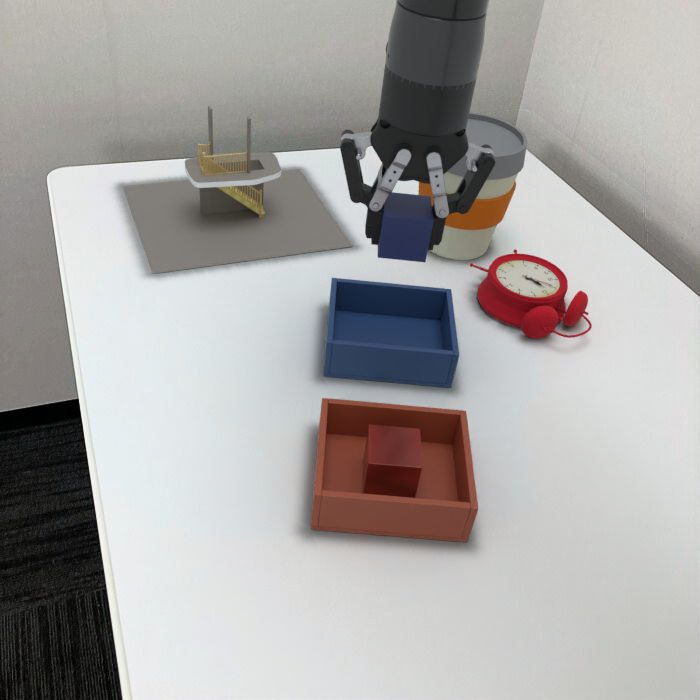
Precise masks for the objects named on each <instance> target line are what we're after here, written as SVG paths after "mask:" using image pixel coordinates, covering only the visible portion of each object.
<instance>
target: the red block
mask: <svg viewBox="0 0 700 700" xmlns="http://www.w3.org/2000/svg"><path fill="white" fill-rule="evenodd" d="M421 471H422V455H421V438H420V429H416V428H405V427H393V426H382V425H371V424H369V426H368V432H367V439H366V445H365V451H364V457H363V494H374V495H386V496H398V497H410V498H415V496H416V492H417V488H418V484H419V479H420V475H421Z"/></svg>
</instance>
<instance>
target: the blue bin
mask: <svg viewBox="0 0 700 700" xmlns="http://www.w3.org/2000/svg"><path fill="white" fill-rule="evenodd" d="M329 291H330V292H329V302H328V311H327V325H326V335H325V336H326V337H325V338H326V339H325V347H324V349H325V350H324V361H323V373H322V376H323V377H326V378H327V377H329V378H338V379H339V378H340V379H349V380H361V381H370V382H371V381H372V382H383V383H394V384H403V385H404V384H405V385H406V384H407V385H415V386H427V387H438V388H449V389H451V388H452V386H453V382H454V378H455V375H456V370H457V366H458V362H459V357H460V349H459V342H458V341H459V340H458V333H457V324H456V316H455V308H454V307H455V306H454V300H453V299H454V298H453V293H452V289H451V288H443V287H434V286H433V287H432V286H422V285H412V284H403V283H391V282H383V281H382V282H381V281H371V280H362V279H350V278H340V277H331V282H330V290H329Z"/></svg>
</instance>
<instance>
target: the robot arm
mask: <svg viewBox="0 0 700 700" xmlns="http://www.w3.org/2000/svg"><path fill="white" fill-rule="evenodd" d="M489 3H490V0H396V1H395V7H394V11H393V15H392V19H391V23H390V26H389V32H388V39H387V42H386V46H385V61H384V68H383V69H384V70H383V78H382V85H381V93H380V101H379V109H378V116H377V119H376V121H375V122H374V124H373V125H372V127H371V129H370V130H369V131H364V132H358V133H355V132H354V131H353V130H351V129H345V130H343V131H342V132H341V133H340V144H339V145H340V146H339V149H340V154H341V160H342V164H343V170H344V174H345V179H346V184H347V189H348V194H349V199H350V201H351V202H352V203H354V204H362V205H364V206H366V209H367V210H366V218H365V225H364V227H365V228H364V231H365V232H364V234H365V237H366V239H370V241H371V242H370V244H371V245H374V246H378V244H379V237H380V231H381V224H382V217H383V205H384V203H385V201H386V199H387V197H388V196H389V194H390V193H391V192H393V191H394V189H395V188H396V185H397V183H398V182H410V181H416V182H417V183H419V182H421V183H426V184H431V189H432V195H433V200H434V203H433V206H432V212H433V226H432V231H431V236H430V241H429V247H428V251H429V250H433V247H434V245H439V244H440V242H441V241H442V236H443V231H444V226H445V222H446V218H447V216H448V215H450V214H452V213H456V212H458V213H460V214H466V213H467V212H468V211H469V210H470V208H471V206H472V205H473V203H474V201H475V199H476V197H477V196H478V194H479V192H480V190H481V189H482V187H483V185H484V183H485V182H486V180H487V178H488V176H489V175H490V173H491V171H492V169H493V168H494V166H495V158H494V154H493V151H492V148H491V146H490V145H482V146H481V147H480V146H478V145H475V144H473V143H470V142H468V139H467V136H466V127H467V122H468V117H469V112H471V107H472V103H473V98H474V93H475V88H476V83H477V80H478V79H477V78H478V73H479V69H480V64H481V59H482V54H483V50H484V45H485V44H484V43H485V36H486V35H485V33H486V23H487V22H486V21H487V16H488V15H487V14H488V13H487V12H488V10H489V9H488V8H489ZM369 147H372V148H373V150H374V152H375V154H376V155H377V157H378V159H379V160H380V162H381V165H380V167H379V168H378V172H377V175H376V178H375V179H374V181H373V183H372V185H369V184H367V183H365V182H364V177H363V172H362V167H361V160H363V159H364V158H365V157H366V152H367V149H368V148H369ZM464 155H465V156H466V157H467V159H466V164H467V168H468V170H467V172H466V174H465V175H464V177H463V179H462V181H461V183H460V185H459V186H458V188H457V190H456V192H455V193H452V194H446V188H445V181H444V174H445V173H446V172H447V171H448V170H449V169H450V168H452V167H453V166H454V165H455V164H456V163H457V162H458V161H459V160H460V159H461V158H462V157H463V156H464Z"/></svg>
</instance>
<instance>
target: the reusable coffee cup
mask: <svg viewBox="0 0 700 700" xmlns="http://www.w3.org/2000/svg"><path fill="white" fill-rule="evenodd" d="M466 136H467V139H468V142H470V143H473V144H475V145H478V146H480V147H481V146H482V145H490V146H491V148H492V151H493V154H494V158H495V166H494V168H493V169H492V171H491V173H490V175H489V176H488V178H487V180H486V182H485V183H484V185H483V187H482V189H481V190H480V192H479V194H478V196H477V197H476V199H475V201H474V203H473V205H472V206H471V208H470V210H469V211H468V212H467V213H466V214H460V213H458V212H456V213H452V214H450V215H448V216H447V218H446V222H445V226H444V231H443V236H442V241H441V242H440V244H439V245H434V247H433V250H428V252H431V253H432V254H434V255H436V256H439V257H442V258H445V259H449V260H456V261H469V260H474V259H477V258H480V257H482V256H483V255H484V254H485V253H486V252H487V250H488V248H489V246H490V243H491V241H492V239H493V237H494V234H495V231H496V228H497V226H498V225H499V224H500V223H501V222H502V221H503V220H504V218H505V216H506V212H507V211H508V208H509V205H510V203H511V201H512V198H513V196H514V193H515V191H516V188H517V182H516V179H517V177H518V174H519V173H521V172H522V170H523V169H524V165H525V159H526V153H527V148H528V147H527V146H528V139H527V136H526V135H525V133H524V132H523V131H522V130H521V129H520V128H519V127H517V126H515V125H514V124H513V123H511V122H508V121H506V120H504V119H501V118H498V117H495V116H492V115H488V114H483V113H479V112H471V111H470V112H469V117H468V122H467V127H466ZM466 159H467V157H466V156H465V155H464V156H463V157H462V158H461V159H460V160H459V161H458V162H457V163H456V164H455V165H454V166H453V167H452V168H450V169H449V170H448V171H447V172H446V173H445V174H444V181H445V188H446V194H452V193H455V192H456V190H457V188H458V186H459V185H460V183H461V181H462V179H463V177H464V175H465V174H466V172H467V170H468V168H467V164H466ZM417 195H423V196H431V203H432V206H433V203H434V200H433V195H432V189H431V184H426V183H421V182H418V194H417Z"/></svg>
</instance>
